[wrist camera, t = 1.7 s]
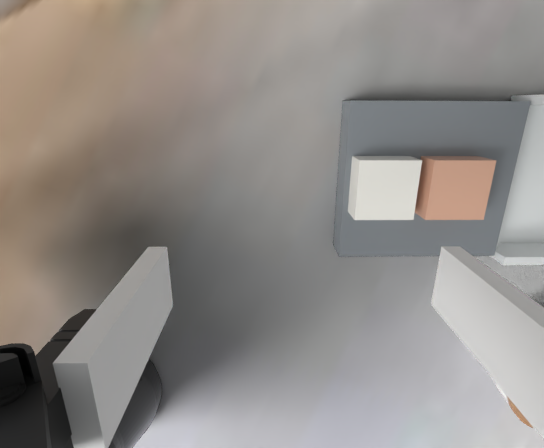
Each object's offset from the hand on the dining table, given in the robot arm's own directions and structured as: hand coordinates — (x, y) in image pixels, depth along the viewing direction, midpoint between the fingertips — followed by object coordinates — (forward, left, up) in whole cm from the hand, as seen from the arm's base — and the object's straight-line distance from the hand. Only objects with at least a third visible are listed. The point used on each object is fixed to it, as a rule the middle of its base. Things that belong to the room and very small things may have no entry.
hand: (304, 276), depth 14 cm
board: (+13, 0, -20) cm, 24 cm away
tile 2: (+8, 0, -17) cm, 19 cm away
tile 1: (+14, 0, -17) cm, 22 cm away
